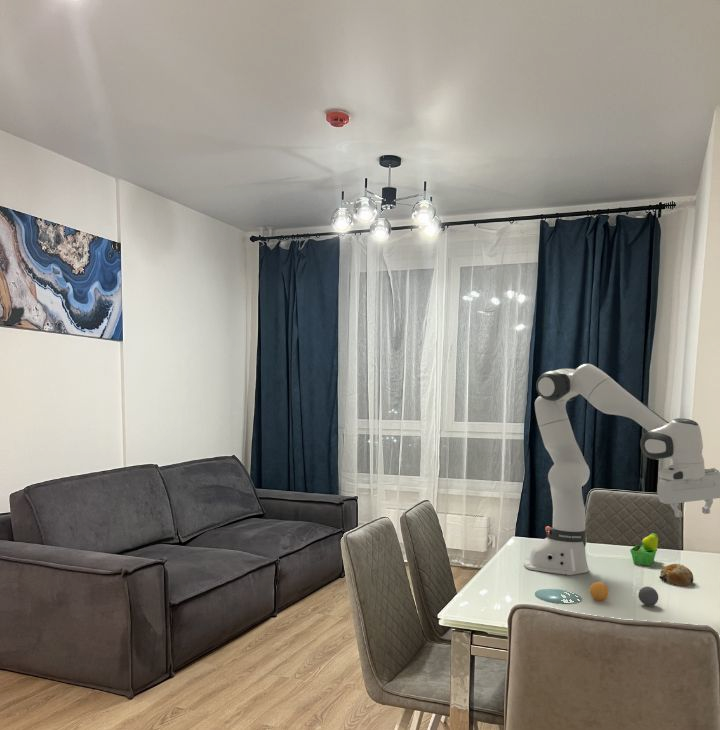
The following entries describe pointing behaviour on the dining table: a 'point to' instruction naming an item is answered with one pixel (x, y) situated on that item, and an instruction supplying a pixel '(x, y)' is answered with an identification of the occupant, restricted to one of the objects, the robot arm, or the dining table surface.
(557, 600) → the teal patterned plate
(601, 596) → the object ball
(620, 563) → the dining table surface
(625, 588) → the dining table surface
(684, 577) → the bread roll
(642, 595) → the dark gray ball
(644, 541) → the fruit basket
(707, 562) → the dining table surface
